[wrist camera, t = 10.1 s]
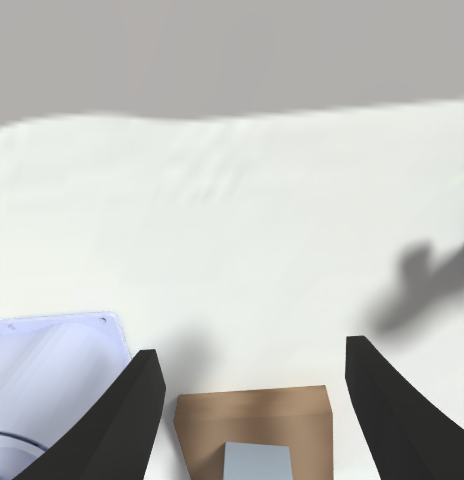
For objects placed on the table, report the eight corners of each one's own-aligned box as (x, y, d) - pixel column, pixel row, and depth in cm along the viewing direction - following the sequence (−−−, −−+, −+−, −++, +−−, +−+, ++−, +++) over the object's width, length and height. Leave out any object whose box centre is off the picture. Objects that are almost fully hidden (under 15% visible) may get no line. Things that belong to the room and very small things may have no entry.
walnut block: (204, 474, 33) (200, 509, 30) (180, 389, 28) (173, 422, 25) (326, 469, 32) (333, 505, 29) (323, 380, 27) (332, 413, 24)
